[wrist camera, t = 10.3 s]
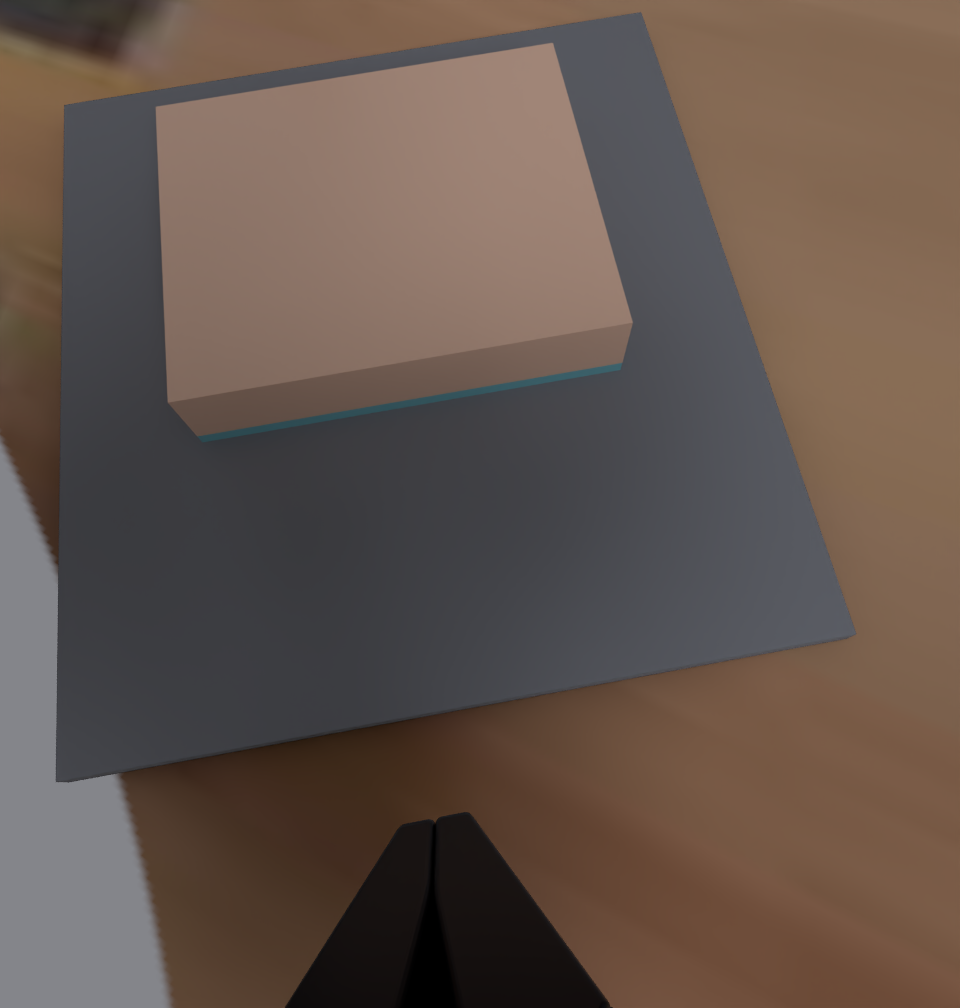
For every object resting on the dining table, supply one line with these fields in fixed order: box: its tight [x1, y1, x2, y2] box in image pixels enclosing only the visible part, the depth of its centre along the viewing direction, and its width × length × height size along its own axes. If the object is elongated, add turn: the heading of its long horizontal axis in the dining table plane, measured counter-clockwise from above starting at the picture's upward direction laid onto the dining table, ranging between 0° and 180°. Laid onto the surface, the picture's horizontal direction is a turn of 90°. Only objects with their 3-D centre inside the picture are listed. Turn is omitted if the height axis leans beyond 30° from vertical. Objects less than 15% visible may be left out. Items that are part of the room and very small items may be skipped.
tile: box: [156, 43, 633, 442], centre depth 23 cm, size 2×12×10 cm
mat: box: [56, 12, 856, 782], centre depth 23 cm, size 22×20×1 cm
